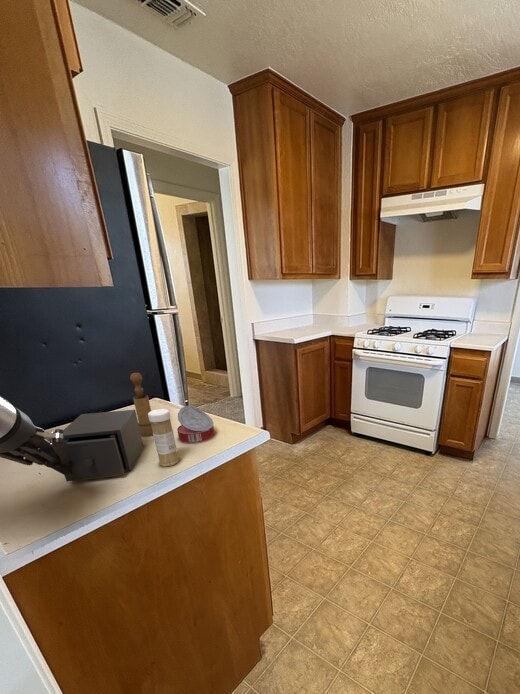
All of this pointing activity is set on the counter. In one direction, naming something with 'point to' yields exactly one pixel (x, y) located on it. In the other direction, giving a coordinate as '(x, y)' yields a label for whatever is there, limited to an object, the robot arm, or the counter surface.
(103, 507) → the counter surface
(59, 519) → the counter surface
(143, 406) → the mortar and pestle
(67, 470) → the robot arm
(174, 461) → the sprinkles bottle
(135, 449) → the small drawer cabinet
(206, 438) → the canned food
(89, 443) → the pull-out drawer box
